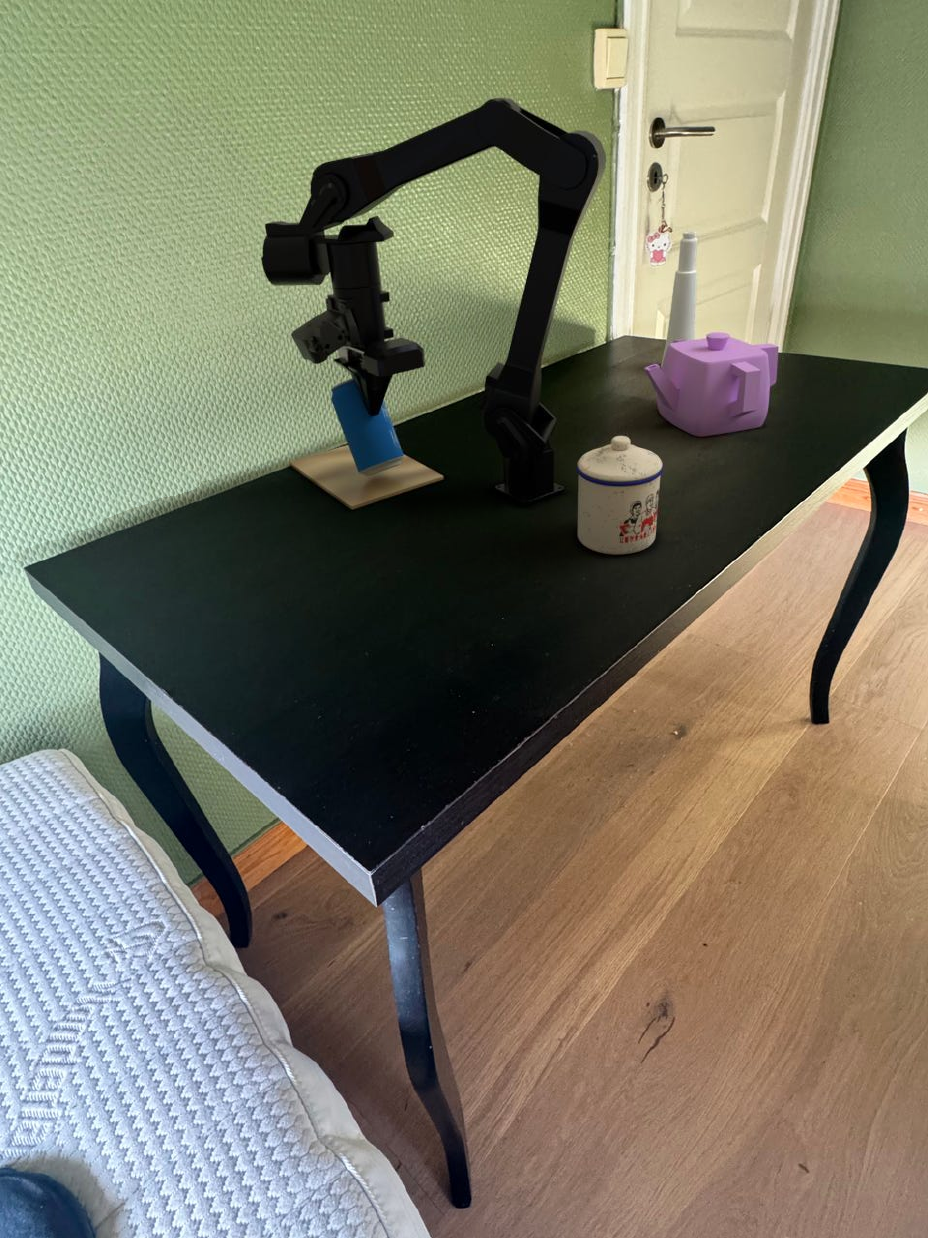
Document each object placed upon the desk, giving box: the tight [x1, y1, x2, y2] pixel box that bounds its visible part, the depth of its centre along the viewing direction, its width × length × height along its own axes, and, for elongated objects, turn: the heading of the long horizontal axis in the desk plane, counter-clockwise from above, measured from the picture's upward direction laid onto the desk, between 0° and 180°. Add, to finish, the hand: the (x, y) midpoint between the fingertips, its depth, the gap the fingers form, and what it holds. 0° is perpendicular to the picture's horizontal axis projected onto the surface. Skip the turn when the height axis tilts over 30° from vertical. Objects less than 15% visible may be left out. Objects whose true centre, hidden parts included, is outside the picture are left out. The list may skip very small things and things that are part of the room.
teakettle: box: [643, 331, 780, 438], centre depth 112 cm, size 17×17×12 cm
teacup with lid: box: [576, 435, 664, 556], centre depth 84 cm, size 12×9×12 cm
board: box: [288, 444, 445, 510], centre depth 107 cm, size 20×14×1 cm
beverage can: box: [330, 377, 405, 476], centre depth 101 cm, size 6×6×12 cm
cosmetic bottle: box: [660, 231, 699, 369], centre depth 132 cm, size 6×6×22 cm
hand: (373, 415), depth 98 cm, fingers closed
